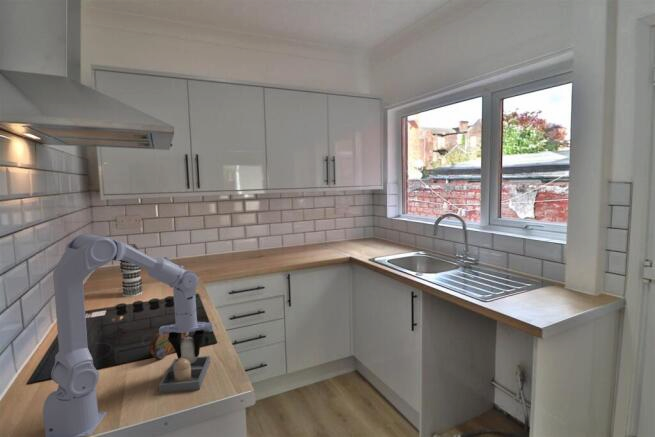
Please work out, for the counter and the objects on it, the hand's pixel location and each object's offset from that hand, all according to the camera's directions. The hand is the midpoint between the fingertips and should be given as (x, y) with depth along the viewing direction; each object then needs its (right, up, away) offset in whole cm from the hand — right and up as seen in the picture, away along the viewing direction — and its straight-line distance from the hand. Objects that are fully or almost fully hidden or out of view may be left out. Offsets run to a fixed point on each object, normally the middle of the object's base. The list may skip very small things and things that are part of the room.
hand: (188, 356), depth 103 cm
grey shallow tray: (0, -5, -3) cm, 6 cm away
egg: (0, -1, 0) cm, 1 cm away
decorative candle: (-57, +2, +73) cm, 93 cm away
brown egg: (+1, -5, -6) cm, 8 cm away
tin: (-11, -4, +13) cm, 17 cm away
